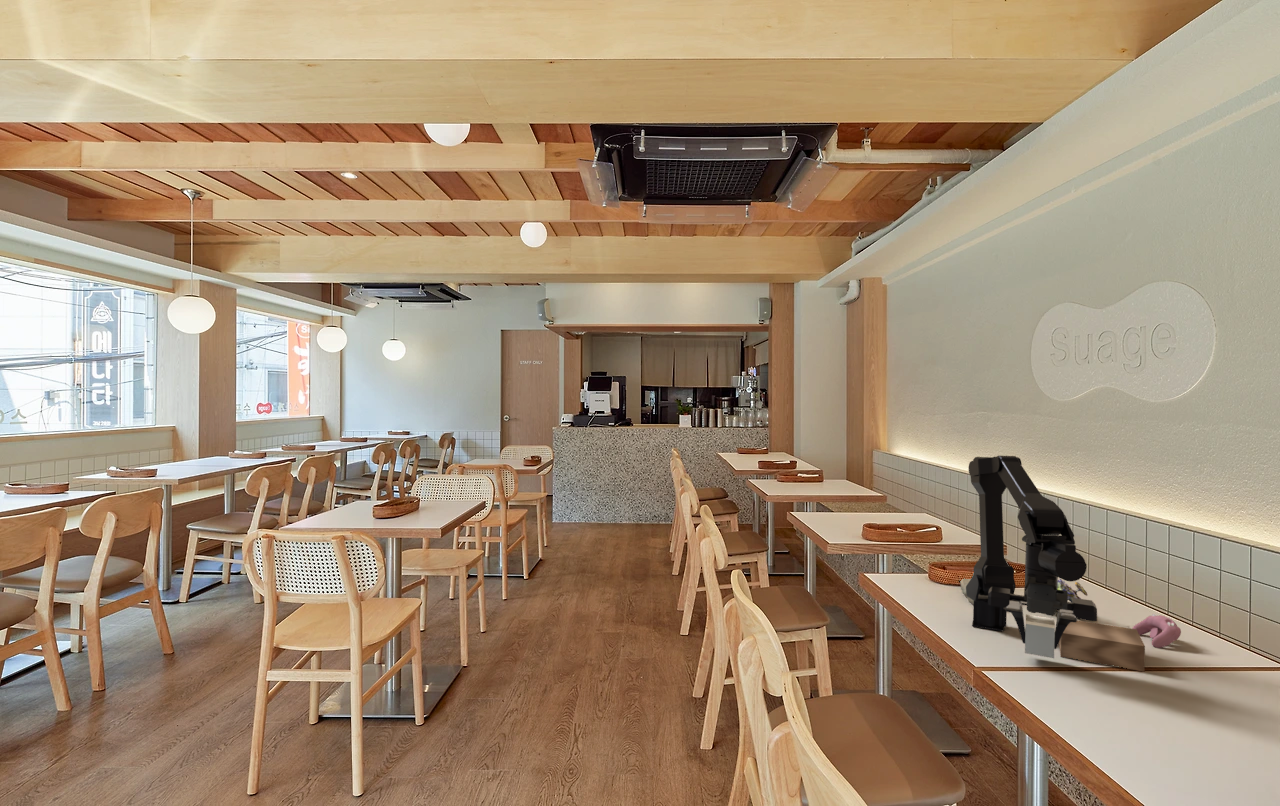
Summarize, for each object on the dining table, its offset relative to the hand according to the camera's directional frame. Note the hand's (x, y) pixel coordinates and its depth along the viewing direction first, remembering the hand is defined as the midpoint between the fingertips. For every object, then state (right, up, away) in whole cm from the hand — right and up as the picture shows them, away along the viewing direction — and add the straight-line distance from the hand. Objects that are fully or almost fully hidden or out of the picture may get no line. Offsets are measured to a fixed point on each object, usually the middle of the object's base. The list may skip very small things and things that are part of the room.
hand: (1039, 645), depth 137 cm
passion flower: (+24, -4, +32) cm, 41 cm away
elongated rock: (+13, -4, +51) cm, 53 cm away
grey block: (0, -1, 0) cm, 1 cm away
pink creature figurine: (+35, -5, +14) cm, 38 cm away
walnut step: (+15, -4, +5) cm, 17 cm away
